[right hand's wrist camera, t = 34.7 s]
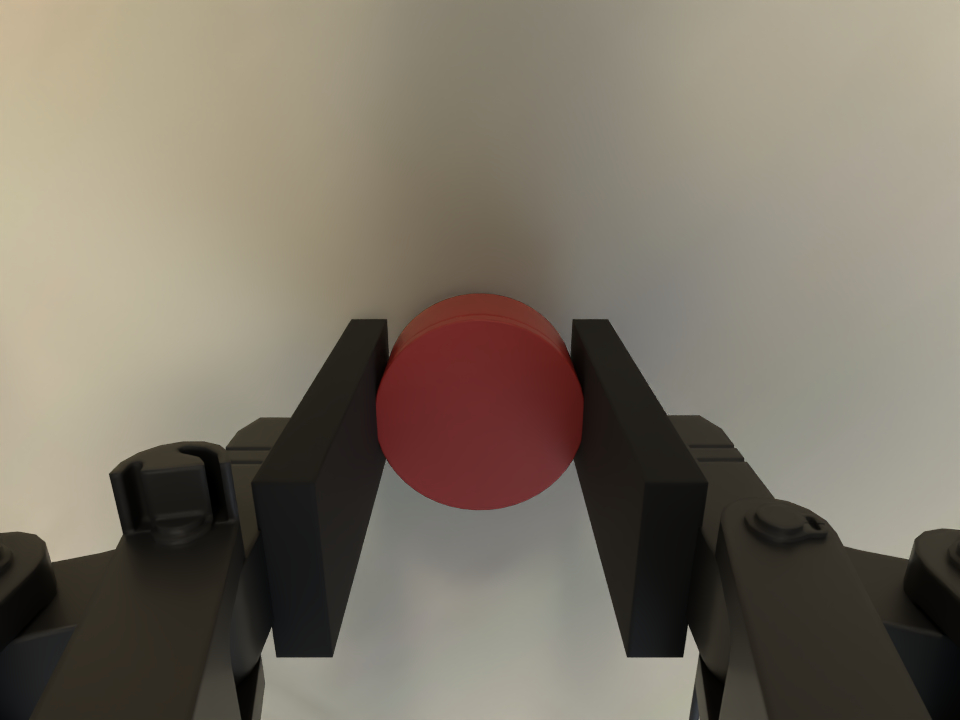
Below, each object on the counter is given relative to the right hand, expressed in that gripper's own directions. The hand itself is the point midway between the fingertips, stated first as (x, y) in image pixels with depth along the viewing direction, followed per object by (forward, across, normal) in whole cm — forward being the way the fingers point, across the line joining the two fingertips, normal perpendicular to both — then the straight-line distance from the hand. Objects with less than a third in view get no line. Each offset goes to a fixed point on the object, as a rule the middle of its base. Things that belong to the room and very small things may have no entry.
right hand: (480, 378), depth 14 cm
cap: (-2, 0, 0) cm, 2 cm away
